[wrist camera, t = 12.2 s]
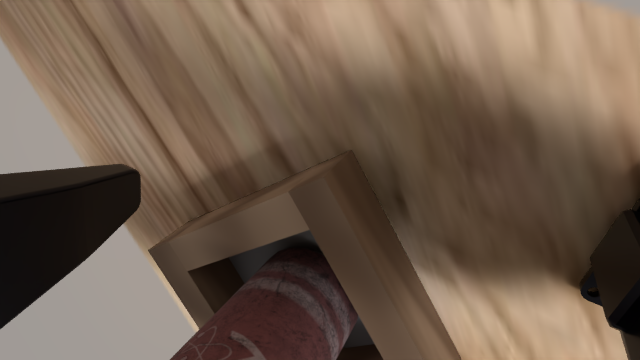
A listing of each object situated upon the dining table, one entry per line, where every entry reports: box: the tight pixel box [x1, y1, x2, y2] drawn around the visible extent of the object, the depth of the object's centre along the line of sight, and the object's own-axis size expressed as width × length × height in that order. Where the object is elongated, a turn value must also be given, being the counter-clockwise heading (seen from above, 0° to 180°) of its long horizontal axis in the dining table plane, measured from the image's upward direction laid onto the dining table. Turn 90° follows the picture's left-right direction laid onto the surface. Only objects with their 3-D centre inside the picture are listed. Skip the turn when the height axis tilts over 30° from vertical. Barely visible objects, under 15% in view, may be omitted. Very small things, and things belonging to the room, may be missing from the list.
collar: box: [148, 150, 461, 360], centre depth 23 cm, size 13×13×4 cm
